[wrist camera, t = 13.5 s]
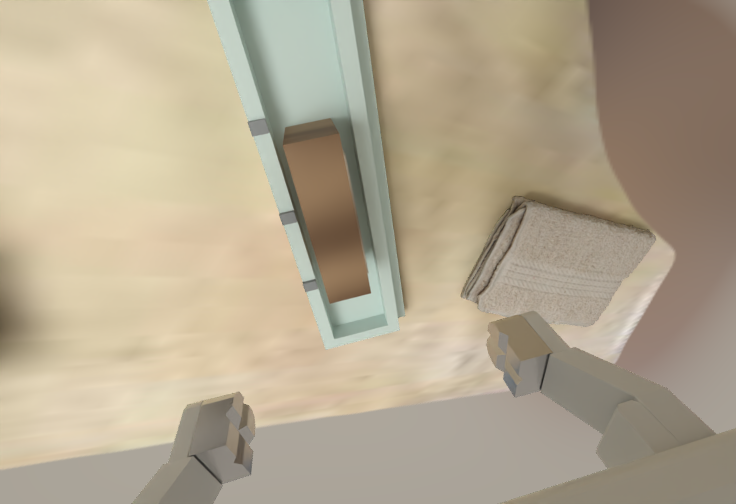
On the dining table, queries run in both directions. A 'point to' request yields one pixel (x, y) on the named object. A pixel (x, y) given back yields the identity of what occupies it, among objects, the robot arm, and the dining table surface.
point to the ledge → (312, 103)
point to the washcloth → (554, 264)
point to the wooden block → (328, 207)
